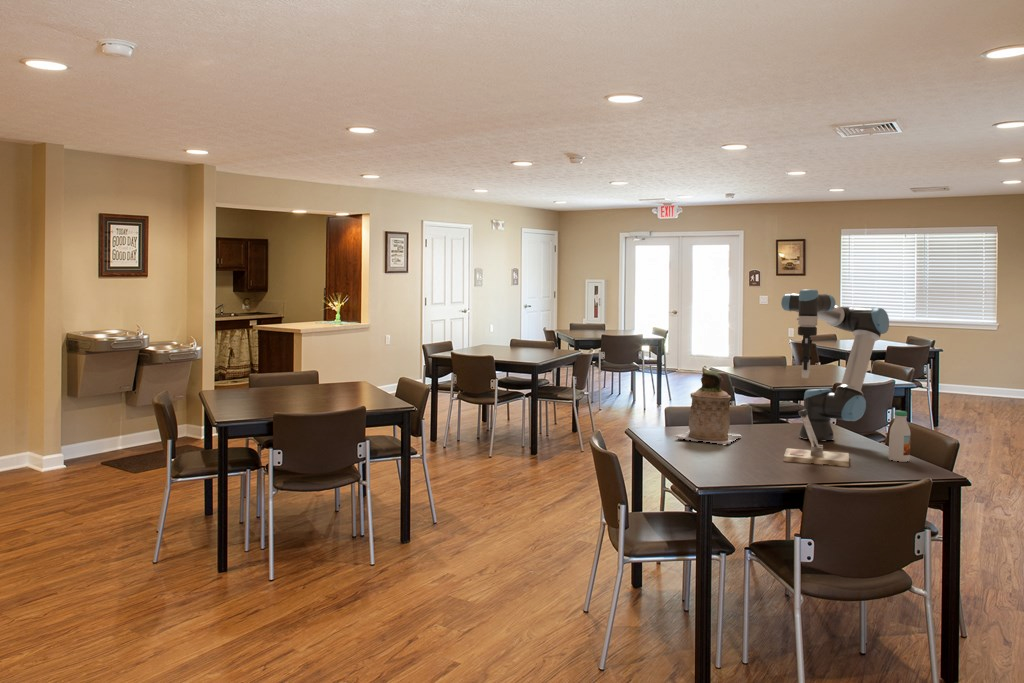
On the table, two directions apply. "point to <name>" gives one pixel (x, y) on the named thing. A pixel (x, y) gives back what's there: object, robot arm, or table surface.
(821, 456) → the bench base
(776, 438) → the table surface
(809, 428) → the lever
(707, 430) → the cookie jar
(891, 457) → the milk bottle
